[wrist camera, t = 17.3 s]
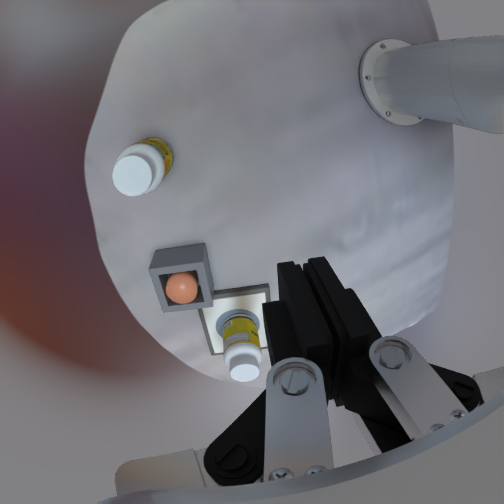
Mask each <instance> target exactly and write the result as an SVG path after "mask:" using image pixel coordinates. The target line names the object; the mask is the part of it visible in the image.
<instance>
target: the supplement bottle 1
mask: <svg viewBox="0 0 504 504" xmlns="http://www.w3.org/2000/svg"><path fill="white" fill-rule="evenodd" d="M172 164H173V152H172V150H171V148H170V146H169V144H168V143H167V142H165V141H164V140H162V139H159V138H147V139H144V140H142V141H140V142H137V143H135V144H133V145H131V146H129V147H127V148H126V149H125V150H124V151H122V153H121V154H120V155H119V157H118V159H117V161H116V165H115V167H114V169H113V182H114V184H115V186H116V188H117V189H118V190H119V191H120V192H121V193H123V194H125V195H127V196H138V195H140V194H146V193H149V192H151V191H153V190H154V189H155V188H156V187H158V185H159V184H160V183H161V181H162V180H163V179H164V177H165V176H166V175H167V173H168V172H169V170H170V169H171V167H172Z"/></svg>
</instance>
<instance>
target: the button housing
mask: <svg viewBox="0 0 504 504" xmlns="http://www.w3.org/2000/svg"><path fill="white" fill-rule="evenodd" d="M192 270H195V271H196V273H197V275H198V287H197V295H196V297H195V299H194V300H193V301H191V302H189V303H186V304H180V303H176V302H174V301H172V300H171V299H170V298H169V297H168V296H167V294H166V286H167V282H168V278H169V274H170V273H177V272H185V271H192ZM149 272H150V276H151V279H152V282H153V285H154V288H155V291H156V293H157V296H158V299H159V302H160V305H161V308H162V310H163V313H165V312H174V311H183V310H192V309H200V308H209V307H213V297H214V285H213V280H212V275H211V271H210V266H209V261H208V256H207V251H206V246H205V243H202V244H195V245H188V246H182V247H175V248H168V249H162V250H156V251H155V254H154V256H153V259H152V261H151V264H150V267H149Z"/></svg>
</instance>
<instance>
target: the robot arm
mask: <svg viewBox="0 0 504 504" xmlns="http://www.w3.org/2000/svg"><path fill="white" fill-rule="evenodd" d="M365 76H366V78H367V79H366V78H365ZM360 83H361V87H362V90H363V93H364V96H365V98H366V100H367V101H368V103H369V105H370V106H371V107H372V108H373V110H374V111H375V112H376V113H377V114H378V115H379V116H380V117H382V118H383V119H385V120H386V121H388V122H391V123H393V124H397V125H403V126H410V125H415V124H417V123H419V122H421V121H422V120H424V119H425V118H426V119H432V120H437V121H442V122H447V123H451V124H456V125H461V126H465V127H469V128H472V129H476V130H481V131H484V132H488V133H492V134H504V35H495V36H483V37H469V38H460V39H450V40H443V41H435V42H428V43H422V44H417V45H410V44H408V43H407V42H404V41H401V40H398V39H385V40H381V41H378V42H376V43H375V44H373V45H371V46H370V47H369V48H368V49H367V51H366V52H365V54H364V55H363V58H362V61H361V64H360ZM277 272H278V287H279V301H273V302H266V303H262V311H263V320H264V328H265V335H266V340H267V346H268V351H269V356H270V361H271V366H272V368H271V369H270V371H269V372H268V375H267V380H266V389H265V390H264V391H263V392H262V394H260V396H259V397H258V398H257V399H256V400H255V401H254V402H253V403H252V404H251V405H250V406H249V407H248V408H247V409H246V410H245V411H244V412H243V413H242V414H241V415H240V416H239V417H238V418H237V419H236V420H235V421H234V422H233V423H232V424H231V425H230V426H229V427H228V428H227V429H226V430H225V431H224V432H223V433H222V434H221V435H220V436H218V437H217V438H216V439H215V440H214V441H213V442H212V443H211V444H210V445H209V447H208V448H204V449H200V450H196V451H194V450H193V449H189V450H185V451H180V452H176V453H171V454H166V455H160V456H155V457H149V458H142V459H136V460H130V461H127V462H125V463H123V464H122V465H121V466H120V467H119V468H118V470H117V472H116V473H115V485H116V491H117V496H115V497H111V498H108V499H105V500H103V501H100V502H98V503H96V504H504V367H500V368H497V369H493V370H490V371H486V372H482V373H478V374H474V375H473V377H472V378H471V377H469V376H467V375H464V374H461V373H458V372H455V371H452V370H448V369H445V368H442V367H439V366H436V365H433V364H430V363H428V362H427V361H426V360H425V359H424V358H423V357H422V356H421V354H420V353H419V352H418V351H417V350H416V348H415V347H414V346H413V345H412V344H411V343H410V342H408V341H407V340H405V339H403V338H401V337H397V336H385V337H382V336H381V334H380V332H379V331H378V329H377V327H376V326H375V324H374V322H373V321H372V319H371V317H370V316H369V314H368V313H367V311H366V309H365V308H364V306H363V305H362V303H361V301H360V300H359V298H358V297H357V295H356V293H355V292H354V291H353V289H351V288H348V289H344V287H343V285H342V284H341V282H340V281H339V279H338V277H337V276H336V274H335V272H334V271H333V269H332V268H331V266H330V264H329V263H328V261H327V260H326V258H325V257H317V258H310V259H308V263H304V264H303V270H302V268H301V266H300V264H297V265H295V264H294V262H293V261H290V262H283V263H278V264H277ZM332 399H334V401H335V403H336V406H337V407H339V406H342V405H344V406H345V408H346V409H347V410H350V411H352V415H353V418H354V420H355V421H356V423H357V425H358V427H359V428H360V430H361V432H362V434H363V435H364V437H365V439H366V440H367V442H368V444H369V446H370V447H371V449H372V451H373V453H374V455H375V456H374V457H371V458H368V459H365V460H362V461H358V462H355V463H352V464H349V465H345V466H342V467H338V468H334V464H333V454H332V445H331V436H330V427H329V418H328V411H327V406H328V401H329V400H332Z"/></svg>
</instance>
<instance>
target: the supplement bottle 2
mask: <svg viewBox="0 0 504 504" xmlns="http://www.w3.org/2000/svg"><path fill="white" fill-rule="evenodd" d="M222 333H223V352H224V361H225V363H226V365H227V366H228V367H229V368H230V375H231V377H232V378H233V379H234V380H236V381H240V382H247V381H251V380H254V379H255V378H257V377H258V375H259V373H260V369H259V363H260V362H261V359H262V352H261V346H260V341H259V335H258V330H257V325H256V322H255V320H254V319H253V318H252V317H250V316H248V315H245V314H236V315H232V316H230V317H228V318H227V319H226V320H225V321H224V323H223V326H222Z"/></svg>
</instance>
